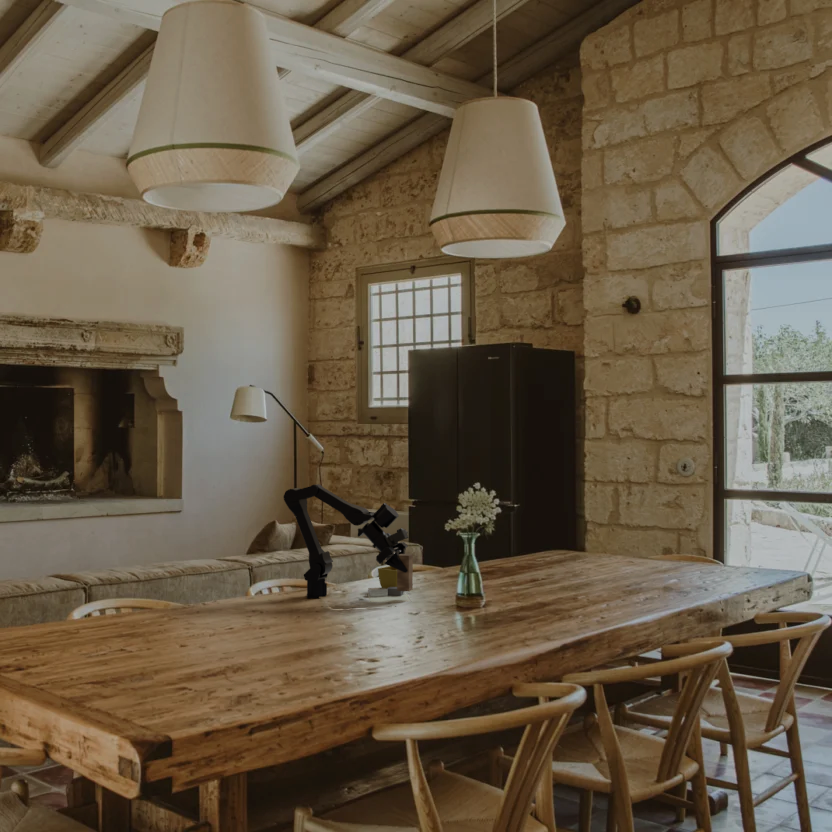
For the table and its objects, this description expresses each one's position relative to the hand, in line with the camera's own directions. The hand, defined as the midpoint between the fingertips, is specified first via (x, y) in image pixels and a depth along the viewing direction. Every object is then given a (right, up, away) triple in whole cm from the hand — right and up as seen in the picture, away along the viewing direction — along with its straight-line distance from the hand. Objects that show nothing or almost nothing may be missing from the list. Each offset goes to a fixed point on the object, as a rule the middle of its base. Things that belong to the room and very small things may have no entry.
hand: (408, 570), depth 341 cm
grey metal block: (-11, -10, +9) cm, 17 cm away
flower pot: (-5, -11, +19) cm, 23 cm away
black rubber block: (-5, -10, +10) cm, 15 cm away
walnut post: (-1, -7, 0) cm, 7 cm away
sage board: (-7, -11, +5) cm, 13 cm away
